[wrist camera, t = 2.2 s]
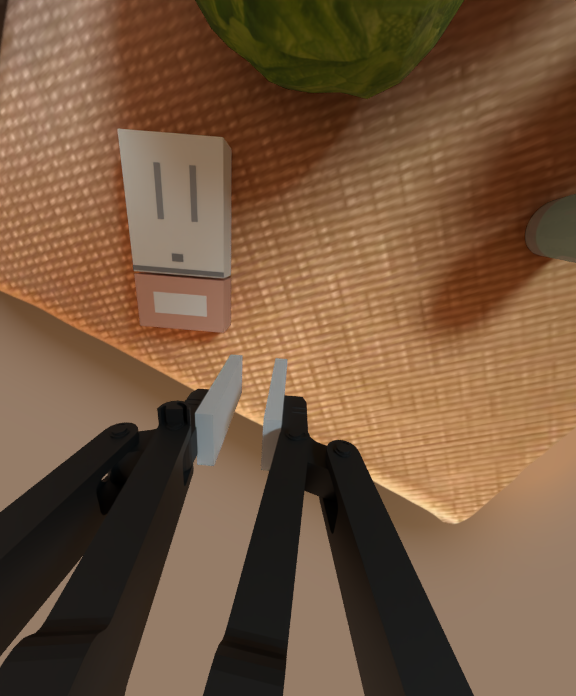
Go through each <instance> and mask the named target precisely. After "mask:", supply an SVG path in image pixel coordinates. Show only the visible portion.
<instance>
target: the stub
mask: <svg viewBox="0 0 576 696" xmlns="http://www.w3.org/2000/svg"><path fill="white" fill-rule="evenodd" d="M134 276H135V285H136V293H137V302H138V310H139V319H140V326H150V327H162V328H174V329H186V330H197V331H209V332H221V333H224V332H225V331H226V330H227V329H228V327H229V326H230V325H231V278H229V277H226V278H212V277H200V276H188V275H176V274H164V273H152V272H141V273H136V274H134Z"/></svg>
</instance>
